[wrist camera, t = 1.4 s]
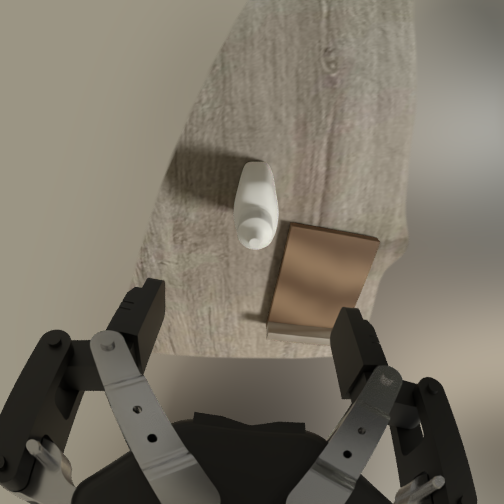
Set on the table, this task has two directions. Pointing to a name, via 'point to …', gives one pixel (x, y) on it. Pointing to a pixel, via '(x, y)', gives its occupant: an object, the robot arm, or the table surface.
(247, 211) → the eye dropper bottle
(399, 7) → the table surface
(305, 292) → the walnut shelf board
